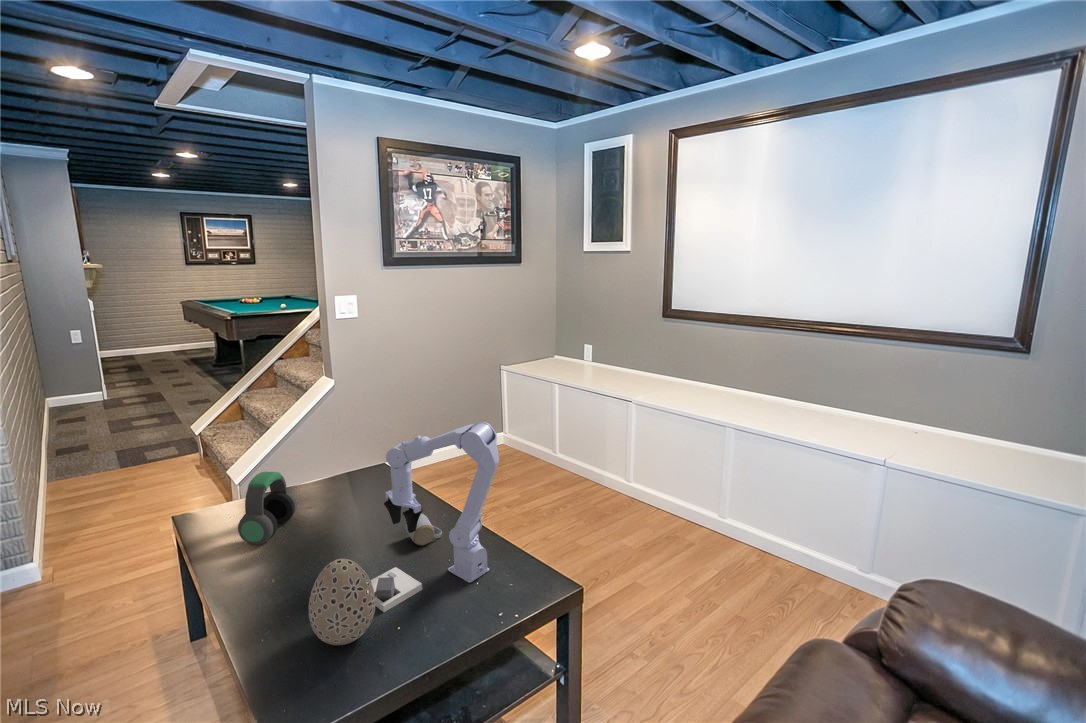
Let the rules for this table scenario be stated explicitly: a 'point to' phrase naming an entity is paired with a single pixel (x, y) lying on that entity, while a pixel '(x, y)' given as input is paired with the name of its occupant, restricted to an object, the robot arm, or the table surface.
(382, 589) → the plug
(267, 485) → the headphones
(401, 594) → the socket
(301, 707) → the table surface
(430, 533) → the ceramic mug
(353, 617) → the ornament
